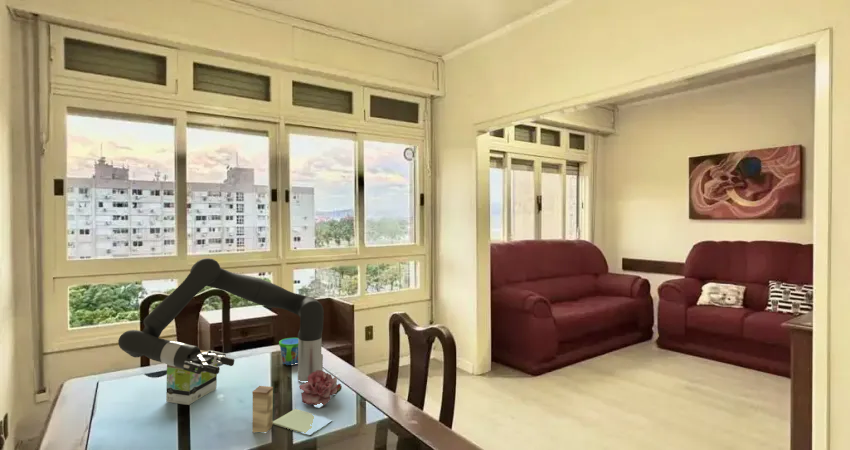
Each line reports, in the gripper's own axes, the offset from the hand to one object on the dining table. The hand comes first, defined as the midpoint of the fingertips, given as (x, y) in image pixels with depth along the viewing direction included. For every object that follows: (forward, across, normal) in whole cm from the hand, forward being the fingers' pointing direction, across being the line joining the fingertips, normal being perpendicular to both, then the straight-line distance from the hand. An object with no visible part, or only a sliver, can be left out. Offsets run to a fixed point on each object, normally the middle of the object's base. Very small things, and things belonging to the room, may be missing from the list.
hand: (226, 366), depth 147 cm
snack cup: (0, +58, +17) cm, 60 cm away
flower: (+26, +24, +14) cm, 38 cm away
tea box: (-21, +20, +22) cm, 37 cm away
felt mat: (+26, +7, +15) cm, 31 cm away
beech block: (+15, +1, +17) cm, 23 cm away
